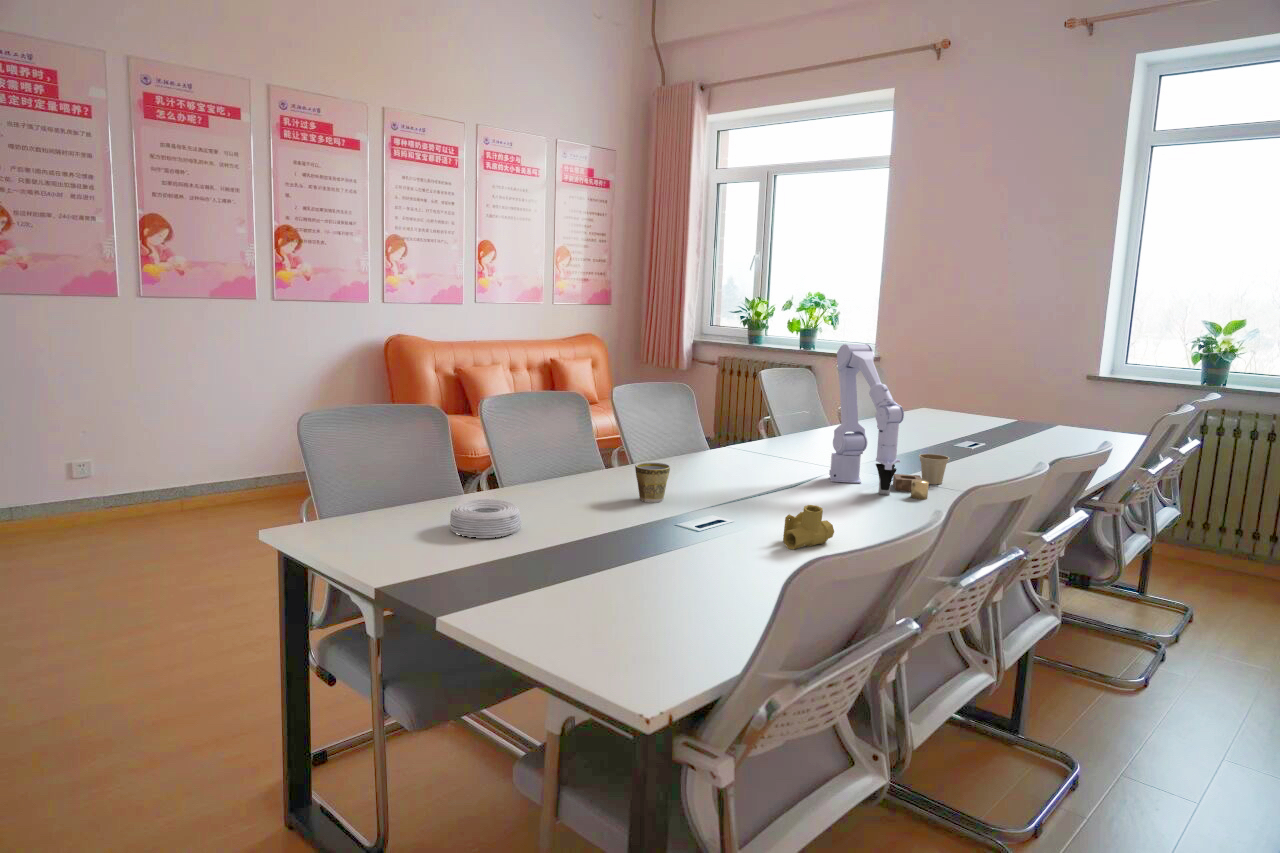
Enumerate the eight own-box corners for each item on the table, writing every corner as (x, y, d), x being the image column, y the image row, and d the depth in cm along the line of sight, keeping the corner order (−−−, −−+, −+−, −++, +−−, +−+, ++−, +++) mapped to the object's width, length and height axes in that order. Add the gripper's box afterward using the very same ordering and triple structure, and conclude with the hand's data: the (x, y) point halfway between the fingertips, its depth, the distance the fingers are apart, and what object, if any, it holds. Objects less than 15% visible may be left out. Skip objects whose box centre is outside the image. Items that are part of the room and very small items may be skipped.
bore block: (895, 490, 265) (896, 479, 265) (892, 484, 273) (893, 473, 272) (922, 491, 264) (923, 480, 263) (918, 486, 272) (919, 475, 271)
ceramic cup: (665, 505, 240) (666, 470, 238) (631, 502, 242) (631, 468, 240) (673, 494, 252) (674, 461, 251) (640, 492, 254) (641, 459, 252)
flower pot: (951, 486, 273) (953, 459, 271) (921, 485, 273) (923, 459, 272) (941, 479, 282) (944, 454, 281) (913, 479, 282) (915, 453, 281)
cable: (490, 517, 224) (490, 494, 223) (536, 530, 213) (536, 506, 212) (435, 530, 210) (435, 506, 209) (481, 545, 199) (481, 520, 198)
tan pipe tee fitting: (834, 547, 207) (804, 531, 215) (839, 508, 204) (809, 493, 211) (797, 558, 200) (767, 542, 207) (802, 518, 197) (771, 503, 204)
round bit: (911, 499, 254) (912, 482, 254) (909, 495, 259) (910, 479, 258) (928, 500, 254) (929, 483, 253) (926, 496, 258) (927, 480, 257)
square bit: (879, 494, 259) (880, 475, 258) (878, 492, 262) (879, 473, 261) (889, 495, 258) (890, 475, 257) (888, 493, 261) (889, 473, 260)
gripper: (904, 449, 250) (900, 494, 252) (898, 441, 264) (895, 484, 266) (879, 448, 251) (876, 493, 253) (875, 440, 265) (872, 482, 267)
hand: (884, 488), depth 260 cm, fingers closed on square bit, 3 cm apart
